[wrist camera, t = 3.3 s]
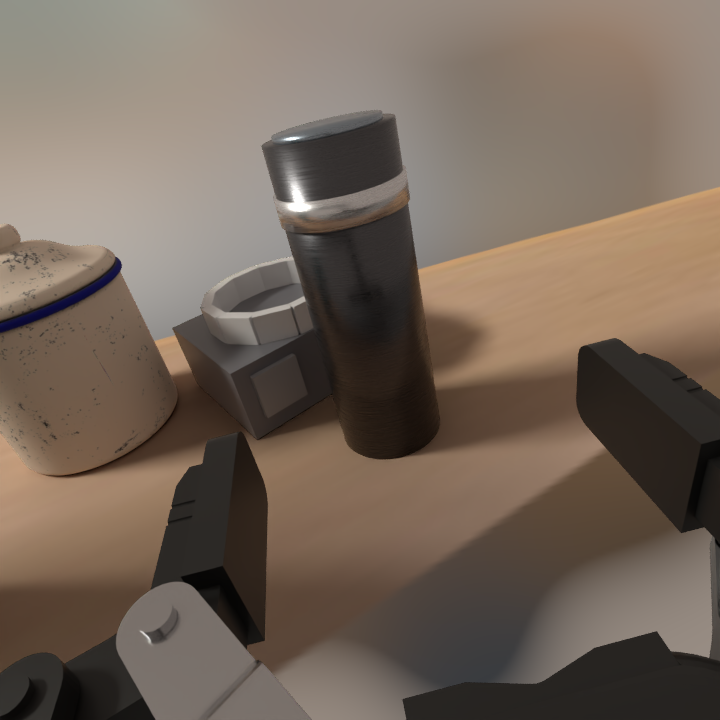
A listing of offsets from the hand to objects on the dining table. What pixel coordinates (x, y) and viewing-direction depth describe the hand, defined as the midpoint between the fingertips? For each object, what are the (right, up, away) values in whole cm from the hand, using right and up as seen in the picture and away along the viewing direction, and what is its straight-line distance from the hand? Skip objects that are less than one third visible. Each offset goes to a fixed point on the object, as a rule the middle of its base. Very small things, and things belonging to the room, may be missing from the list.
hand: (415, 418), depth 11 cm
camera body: (-5, +1, +18) cm, 19 cm away
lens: (0, -2, +12) cm, 12 cm away
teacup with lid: (-17, -3, +17) cm, 24 cm away
